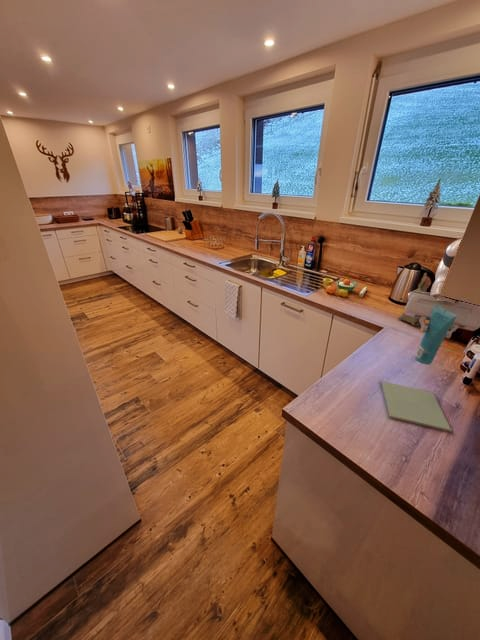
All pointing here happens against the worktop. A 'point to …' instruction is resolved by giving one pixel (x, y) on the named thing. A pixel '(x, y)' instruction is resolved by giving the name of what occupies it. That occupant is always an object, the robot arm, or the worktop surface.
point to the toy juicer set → (341, 287)
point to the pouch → (422, 288)
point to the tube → (434, 334)
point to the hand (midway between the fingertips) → (435, 334)
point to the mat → (414, 406)
